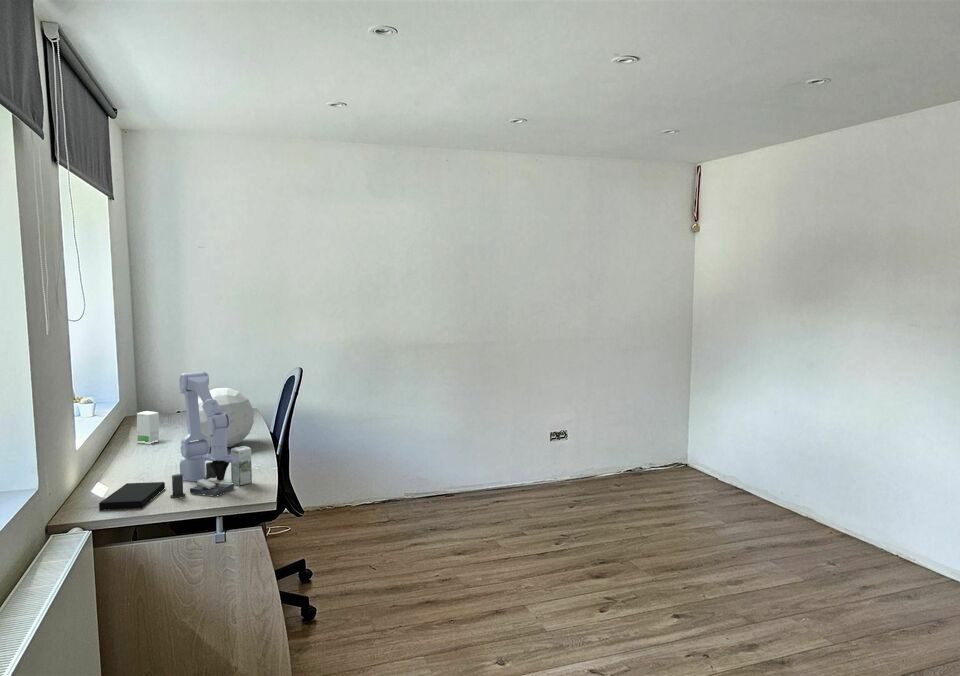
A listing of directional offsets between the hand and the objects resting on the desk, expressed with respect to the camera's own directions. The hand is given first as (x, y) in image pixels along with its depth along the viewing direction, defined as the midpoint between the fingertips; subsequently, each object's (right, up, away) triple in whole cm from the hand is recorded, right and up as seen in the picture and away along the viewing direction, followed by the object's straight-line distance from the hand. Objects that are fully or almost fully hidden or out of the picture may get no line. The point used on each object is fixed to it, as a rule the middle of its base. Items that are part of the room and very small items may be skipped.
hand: (220, 479), depth 251 cm
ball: (-27, +1, +69) cm, 74 cm away
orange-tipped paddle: (-3, 0, +1) cm, 3 cm away
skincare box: (-68, +1, +78) cm, 104 cm away
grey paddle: (-4, -1, -3) cm, 5 cm away
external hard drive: (-28, -6, -10) cm, 30 cm away
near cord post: (-13, -5, -7) cm, 16 cm away
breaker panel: (-3, -4, -1) cm, 5 cm away
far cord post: (-8, -3, +10) cm, 13 cm away
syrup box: (+5, -4, +9) cm, 11 cm away
